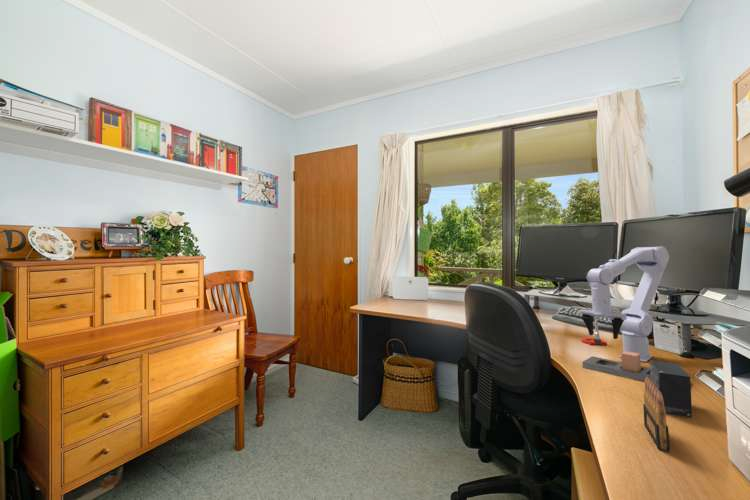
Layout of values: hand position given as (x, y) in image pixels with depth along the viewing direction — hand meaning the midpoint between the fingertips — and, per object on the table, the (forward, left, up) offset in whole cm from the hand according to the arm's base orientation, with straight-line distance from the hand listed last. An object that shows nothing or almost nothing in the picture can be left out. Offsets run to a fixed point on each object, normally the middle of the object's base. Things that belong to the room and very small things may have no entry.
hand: (603, 336), depth 117 cm
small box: (+27, +23, -10) cm, 37 cm away
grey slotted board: (+8, +10, -9) cm, 16 cm away
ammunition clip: (+47, +24, -10) cm, 54 cm away
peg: (+8, +10, -9) cm, 16 cm away
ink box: (-31, +12, -10) cm, 35 cm away
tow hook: (-25, -12, -10) cm, 29 cm away
